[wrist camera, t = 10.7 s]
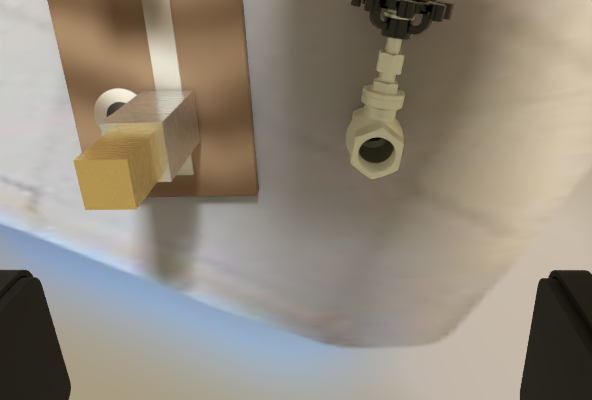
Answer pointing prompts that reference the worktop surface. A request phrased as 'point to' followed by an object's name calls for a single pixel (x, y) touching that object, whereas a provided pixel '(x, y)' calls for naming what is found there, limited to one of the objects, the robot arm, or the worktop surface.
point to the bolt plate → (165, 78)
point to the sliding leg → (138, 149)
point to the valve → (387, 85)
